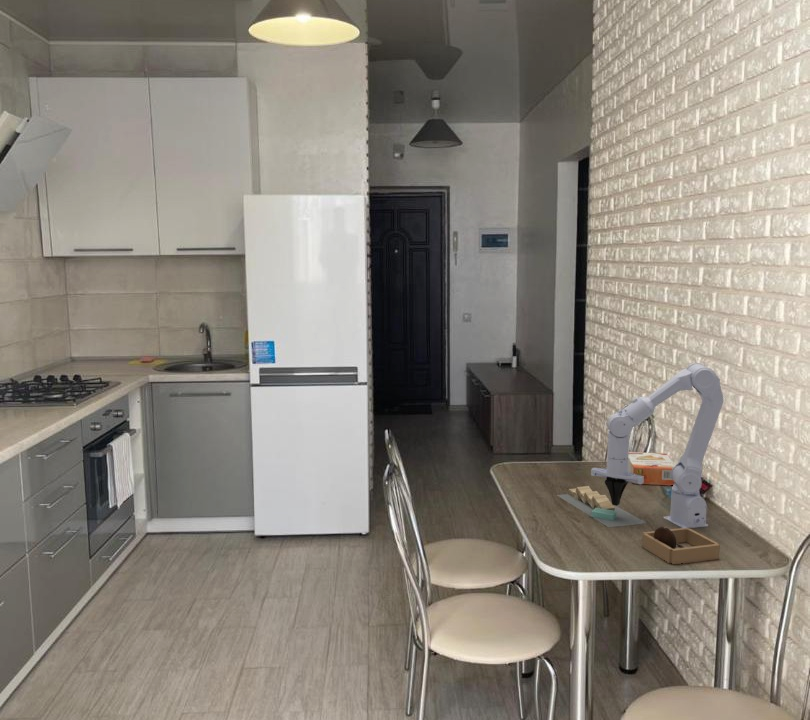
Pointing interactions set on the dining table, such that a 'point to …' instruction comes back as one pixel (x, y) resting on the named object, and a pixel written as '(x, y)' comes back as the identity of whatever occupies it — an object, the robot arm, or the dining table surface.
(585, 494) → the tan wooden block
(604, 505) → the tile
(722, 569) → the dining table surface
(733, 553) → the dining table surface
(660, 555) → the board and tray
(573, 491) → the tile
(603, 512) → the tile
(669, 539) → the dark brown rounded piece
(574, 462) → the dining table surface
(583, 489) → the tile
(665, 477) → the cracker box
